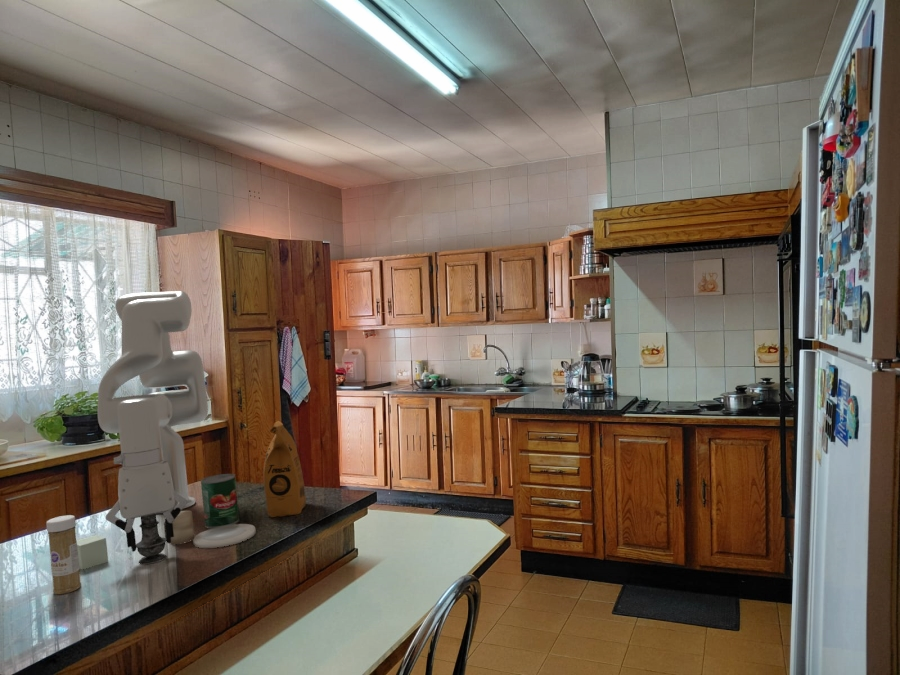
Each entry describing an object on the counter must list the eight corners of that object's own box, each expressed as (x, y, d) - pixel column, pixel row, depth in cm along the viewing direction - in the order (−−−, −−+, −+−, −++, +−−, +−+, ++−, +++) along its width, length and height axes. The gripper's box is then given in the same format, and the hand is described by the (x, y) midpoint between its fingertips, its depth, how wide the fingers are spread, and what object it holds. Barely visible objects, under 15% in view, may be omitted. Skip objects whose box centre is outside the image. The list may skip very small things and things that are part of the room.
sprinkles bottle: (47, 596, 115) (40, 522, 115) (63, 585, 120) (56, 515, 120) (72, 594, 115) (65, 520, 115) (87, 583, 120) (80, 513, 119)
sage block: (72, 566, 131) (70, 542, 131) (98, 557, 135) (95, 534, 135) (82, 570, 128) (80, 545, 128) (108, 561, 132) (105, 538, 132)
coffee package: (261, 520, 152) (252, 429, 152) (269, 506, 164) (261, 422, 164) (303, 515, 153) (294, 424, 153) (308, 501, 166) (300, 418, 165)
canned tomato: (225, 528, 148) (220, 482, 148) (197, 528, 150) (193, 482, 150) (246, 518, 155) (241, 473, 155) (219, 517, 158) (215, 473, 158)
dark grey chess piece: (138, 558, 132) (132, 501, 132) (169, 552, 134) (163, 496, 134) (135, 567, 127) (129, 507, 126) (167, 560, 129) (161, 502, 128)
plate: (189, 538, 143) (188, 533, 143) (247, 524, 150) (247, 519, 150) (199, 553, 132) (198, 547, 132) (262, 537, 138) (261, 532, 138)
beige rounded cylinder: (168, 540, 142) (166, 514, 142) (192, 535, 145) (189, 509, 145) (171, 546, 138) (169, 519, 138) (196, 540, 141) (193, 513, 141)
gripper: (95, 469, 122) (104, 561, 123) (190, 453, 131) (198, 539, 131) (94, 464, 129) (103, 551, 129) (184, 448, 138) (192, 531, 138)
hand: (151, 544), depth 130 cm, fingers closed on dark grey chess piece, 5 cm apart
